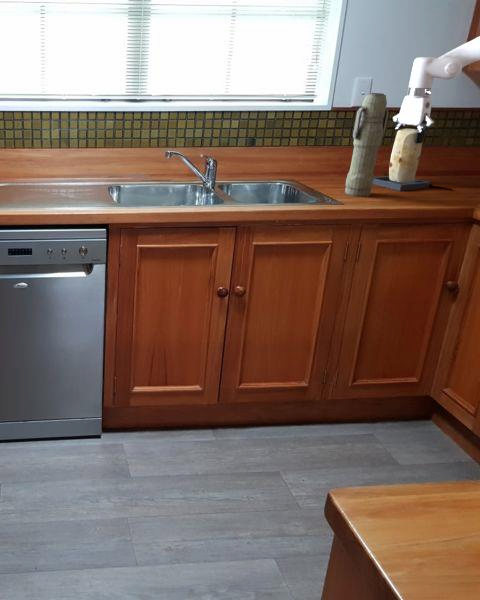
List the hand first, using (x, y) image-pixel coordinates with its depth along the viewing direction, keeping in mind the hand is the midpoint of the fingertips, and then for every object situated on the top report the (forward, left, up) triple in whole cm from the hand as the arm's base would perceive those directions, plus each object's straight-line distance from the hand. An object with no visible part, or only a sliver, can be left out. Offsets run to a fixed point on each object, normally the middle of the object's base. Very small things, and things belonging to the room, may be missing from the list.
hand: (408, 141), depth 230 cm
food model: (0, 0, -16) cm, 16 cm away
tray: (0, 0, -17) cm, 17 cm away
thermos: (-5, +27, -17) cm, 32 cm away
